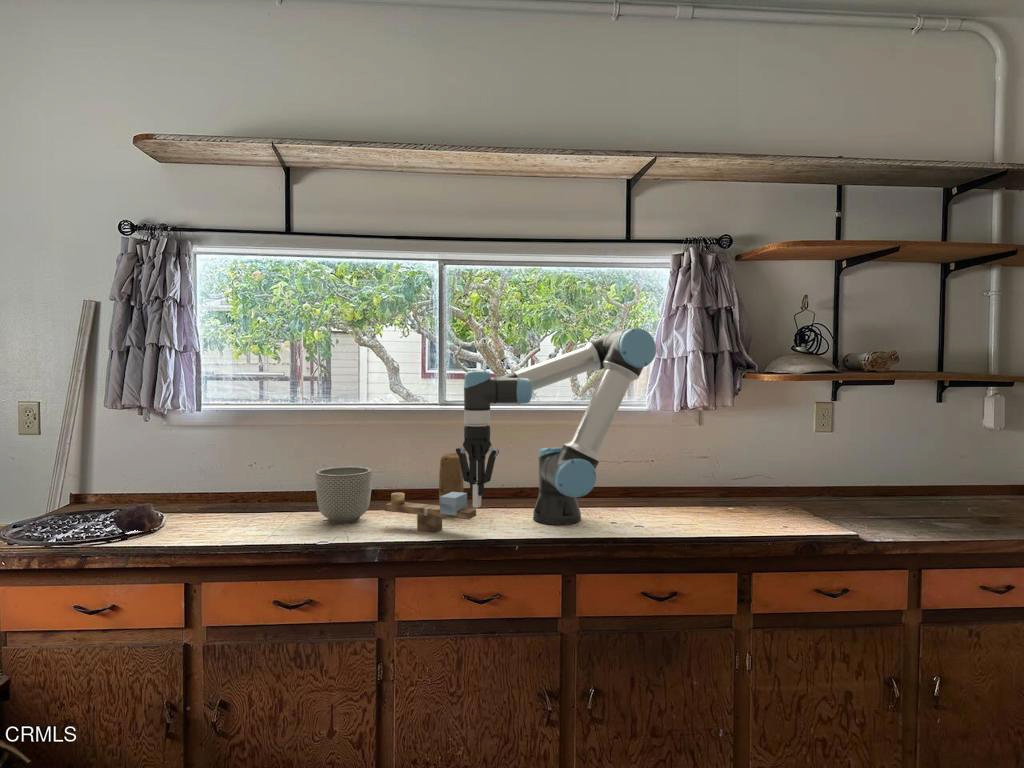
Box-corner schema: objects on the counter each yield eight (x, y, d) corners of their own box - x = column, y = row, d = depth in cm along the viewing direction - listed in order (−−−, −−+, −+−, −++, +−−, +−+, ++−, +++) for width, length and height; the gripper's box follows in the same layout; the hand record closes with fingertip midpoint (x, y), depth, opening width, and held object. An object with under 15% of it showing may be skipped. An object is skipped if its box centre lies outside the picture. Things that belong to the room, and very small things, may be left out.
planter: (304, 521, 197) (304, 470, 197) (352, 512, 210) (352, 464, 209) (334, 531, 185) (334, 477, 185) (383, 521, 198) (383, 470, 198)
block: (460, 518, 201) (460, 456, 201) (437, 518, 202) (437, 456, 201) (465, 510, 212) (465, 451, 212) (443, 510, 213) (443, 451, 212)
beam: (476, 532, 185) (476, 498, 184) (468, 537, 180) (468, 502, 180) (394, 523, 195) (393, 491, 195) (384, 527, 190) (384, 494, 190)
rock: (128, 533, 188) (107, 542, 178) (124, 505, 188) (102, 512, 178) (167, 527, 188) (148, 535, 178) (163, 498, 188) (143, 505, 178)
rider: (467, 509, 187) (467, 493, 187) (455, 515, 180) (455, 498, 180) (452, 508, 189) (452, 491, 189) (440, 513, 182) (440, 496, 182)
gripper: (503, 424, 182) (502, 505, 182) (462, 422, 187) (462, 501, 187) (492, 426, 175) (492, 511, 175) (450, 425, 180) (450, 507, 180)
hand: (477, 506), depth 181 cm, fingers closed
